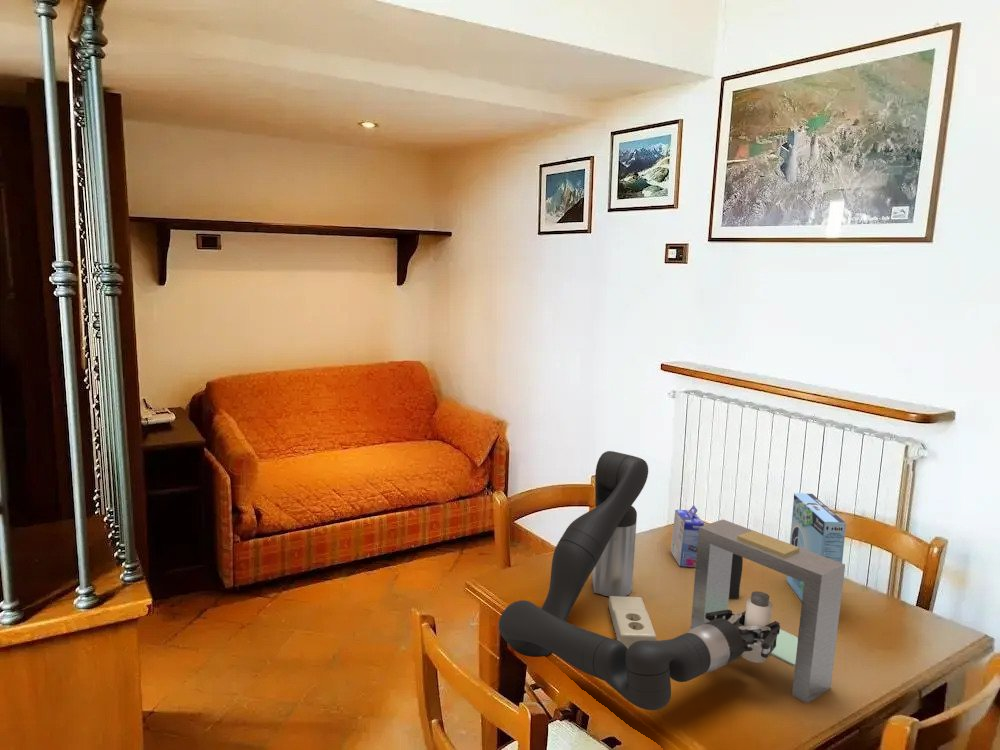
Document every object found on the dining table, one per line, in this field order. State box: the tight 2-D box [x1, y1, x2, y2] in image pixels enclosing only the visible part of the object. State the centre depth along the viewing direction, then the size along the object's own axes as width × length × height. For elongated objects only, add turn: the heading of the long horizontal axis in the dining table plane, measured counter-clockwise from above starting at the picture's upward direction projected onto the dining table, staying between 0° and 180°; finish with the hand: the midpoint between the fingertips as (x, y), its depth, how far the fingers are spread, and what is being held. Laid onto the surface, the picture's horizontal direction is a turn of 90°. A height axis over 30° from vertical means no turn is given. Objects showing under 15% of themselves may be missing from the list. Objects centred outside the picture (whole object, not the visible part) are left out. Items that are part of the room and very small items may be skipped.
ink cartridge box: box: [670, 505, 705, 569], centre depth 184 cm, size 10×6×14 cm, turn 0°
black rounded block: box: [729, 553, 744, 599], centre depth 165 cm, size 7×4×11 cm, turn 87°
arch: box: [690, 519, 846, 705], centre depth 136 cm, size 8×26×25 cm, turn 37°
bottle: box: [741, 590, 773, 664], centre depth 134 cm, size 5×5×12 cm
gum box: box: [786, 492, 847, 602], centre depth 163 cm, size 20×5×23 cm, turn 176°
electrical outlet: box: [608, 596, 657, 649], centre depth 149 cm, size 7×4×18 cm
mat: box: [770, 628, 798, 667], centre depth 144 cm, size 10×10×1 cm
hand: (765, 620), depth 136 cm, fingers closed on bottle, 4 cm apart
